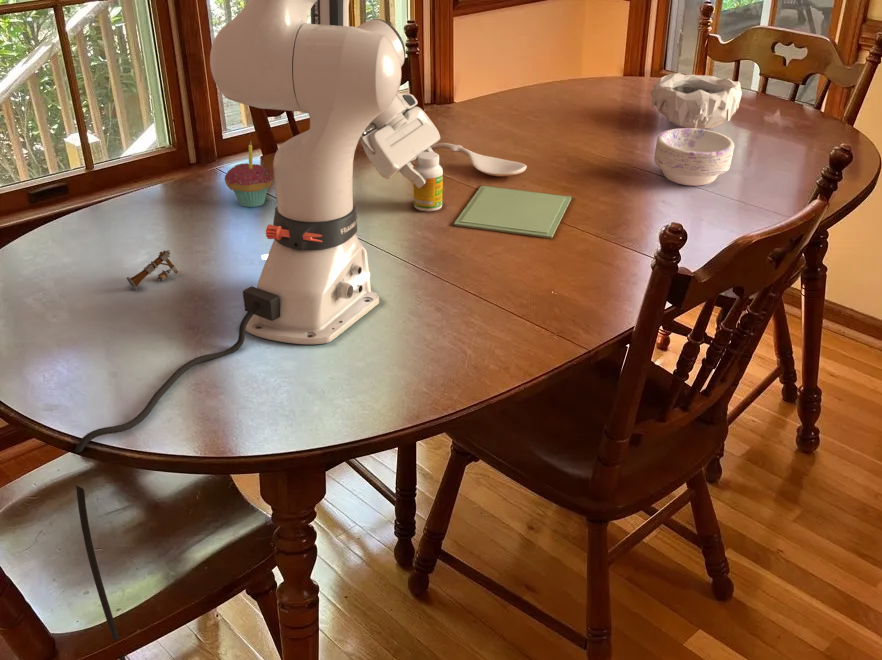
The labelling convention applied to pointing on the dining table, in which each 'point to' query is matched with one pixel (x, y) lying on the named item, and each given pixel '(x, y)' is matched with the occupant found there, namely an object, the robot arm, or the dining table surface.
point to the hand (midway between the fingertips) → (431, 179)
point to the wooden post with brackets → (151, 267)
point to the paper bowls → (693, 155)
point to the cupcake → (249, 182)
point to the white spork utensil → (486, 161)
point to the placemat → (514, 211)
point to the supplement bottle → (429, 183)
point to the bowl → (696, 99)
